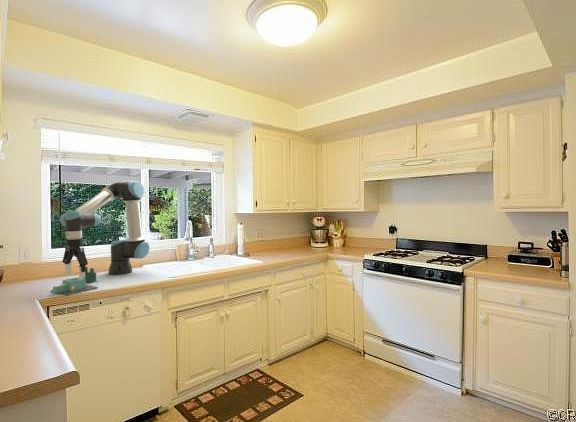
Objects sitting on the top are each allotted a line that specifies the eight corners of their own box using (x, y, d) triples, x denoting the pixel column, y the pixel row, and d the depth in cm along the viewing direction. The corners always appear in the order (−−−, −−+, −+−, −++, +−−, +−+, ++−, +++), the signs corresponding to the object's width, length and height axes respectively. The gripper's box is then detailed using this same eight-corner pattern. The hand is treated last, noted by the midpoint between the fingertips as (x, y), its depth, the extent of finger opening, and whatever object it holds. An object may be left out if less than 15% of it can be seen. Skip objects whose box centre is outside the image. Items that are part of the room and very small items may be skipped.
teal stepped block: (77, 286, 184) (77, 277, 184) (85, 287, 180) (85, 278, 180) (50, 291, 172) (50, 282, 172) (58, 293, 168) (58, 283, 168)
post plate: (81, 285, 190) (81, 277, 190) (97, 288, 182) (97, 279, 182) (50, 291, 175) (50, 282, 175) (67, 295, 168) (67, 285, 168)
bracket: (85, 280, 204) (84, 266, 204) (99, 280, 205) (99, 266, 205) (76, 283, 195) (76, 269, 195) (91, 283, 196) (91, 268, 196)
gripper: (54, 238, 181) (55, 275, 182) (80, 240, 169) (81, 280, 170) (68, 237, 188) (69, 273, 188) (94, 238, 176) (95, 277, 177)
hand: (75, 276), depth 179 cm, fingers open, 13 cm apart
